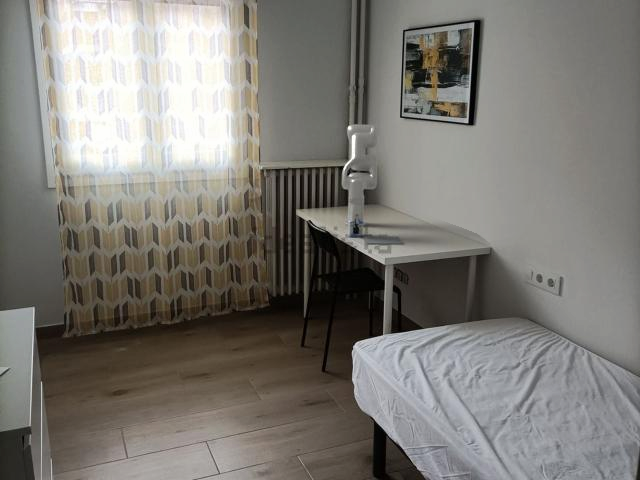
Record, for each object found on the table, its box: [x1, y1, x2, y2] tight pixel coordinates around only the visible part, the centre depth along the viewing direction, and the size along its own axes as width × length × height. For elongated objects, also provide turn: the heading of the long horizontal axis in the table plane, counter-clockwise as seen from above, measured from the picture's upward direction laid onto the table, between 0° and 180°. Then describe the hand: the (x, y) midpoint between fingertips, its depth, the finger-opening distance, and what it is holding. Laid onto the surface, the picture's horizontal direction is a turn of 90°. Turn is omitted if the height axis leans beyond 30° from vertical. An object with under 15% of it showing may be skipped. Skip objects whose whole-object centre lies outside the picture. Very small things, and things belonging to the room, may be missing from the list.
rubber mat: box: [362, 235, 405, 245], centre depth 331 cm, size 15×20×1 cm
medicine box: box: [347, 219, 364, 238], centre depth 340 cm, size 8×4×9 cm, turn 101°
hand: (355, 232), depth 340 cm, fingers closed on medicine box, 4 cm apart
